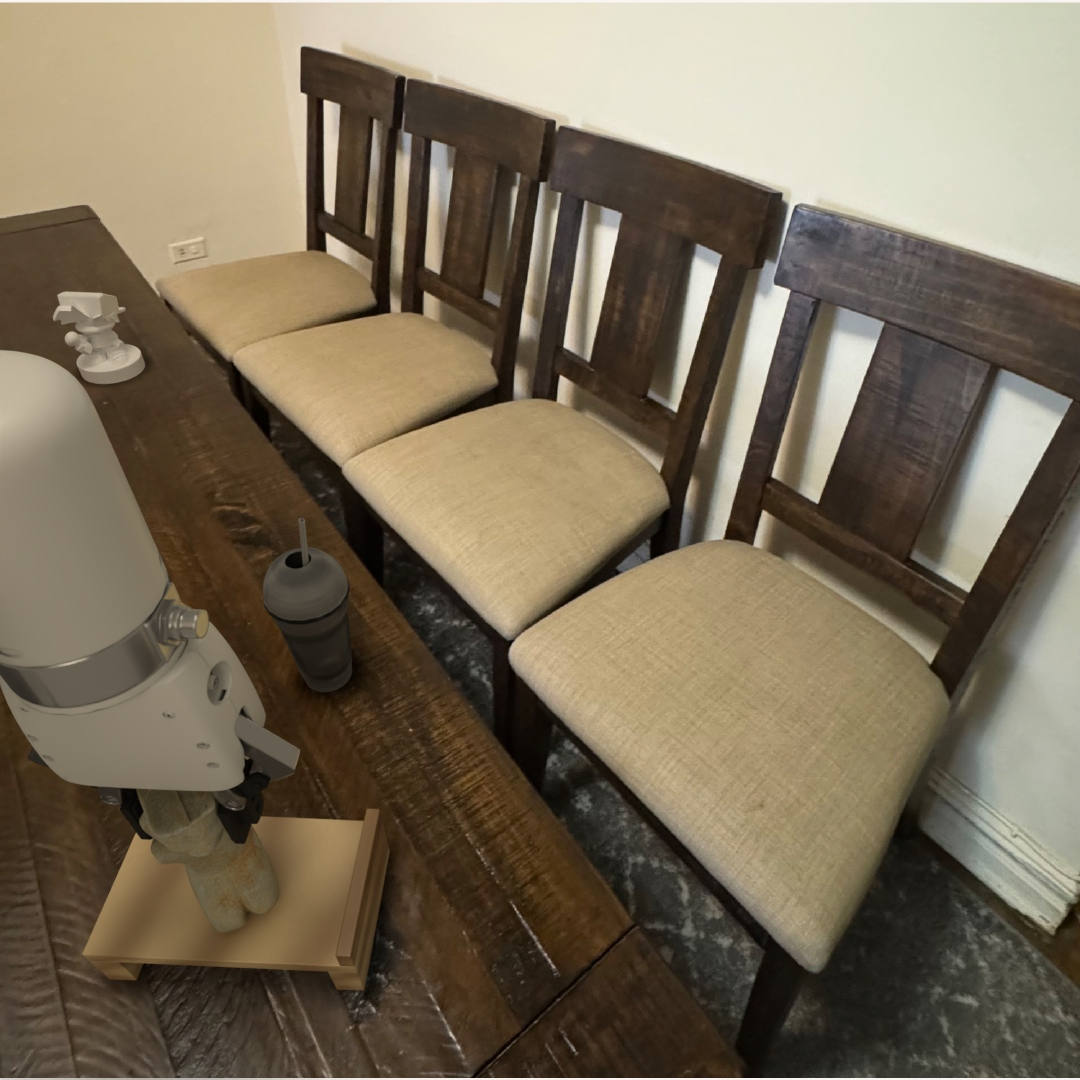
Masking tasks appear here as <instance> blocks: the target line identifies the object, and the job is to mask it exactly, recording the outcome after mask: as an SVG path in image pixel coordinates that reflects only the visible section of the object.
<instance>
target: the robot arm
mask: <svg viewBox="0 0 1080 1080" xmlns="http://www.w3.org/2000/svg"><path fill="white" fill-rule="evenodd" d="M0 689H1V691H2V694H3V696H4V699H5V701H6V704H7V706H8V708H9V710H10V712H11V714H12V716H13V718H14V719H15V721H16V723H17V725H18V726H19V728H20V730H21V732H22V733H23V735H25V737H26V739H27V740H28V742H29V744H30V745H31V746H32V748H31V750H30V751H29V753H28V755H27V759H28V760H29V761H30V762H32V763H35V764H37V765H41V766H43V767H47V768H50V770H52V771H53V773H55V774H56V775H57V776H58V777H60V778H61V779H62V780H64V781H65V782H68V783H72V784H76V785H82V786H88V787H90V788H93V789H96V790H97V795H98V799H99V801H100V802H102V803H103V804H105V805H106V804H107V805H110V806H120V808H119V811H120V812H121V814H122V816H123V817H124V819H126V820H127V822H128V824H129V825H131V828H132V829H133V830H134V831H135V834H136V833H137V834H138V836H139V837H140V838H141V839H144V840H151V839H153V837H151V836H150V835H148V834H147V833H146V832H145V831H144V830H143V829H142V827H141V825H140V823H139V820H140V817H141V815H142V814H143V812H144V811H143V808H142V805H141V803H140V800H139V797H138V794H137V790H136V789H156V790H181V791H208V792H209V793H210V794H211V795H212V796H213V797H214V798H215V799H216V800H217V801H218V802H219V803H220V805H219V807H218V811H217V815H218V817H219V819H220V820H221V822H222V824H223V826H224V828H225V829H226V831H227V833H228V835H229V837H230V838H231V840H232V841H234V843H235V844H245V842H246V840H247V837H248V834H249V831H250V828H251V825H252V824H257V823H258V822H259V820H260V818H261V816H262V814H263V810H264V807H265V805H264V804H265V802H264V801H265V800H264V797H263V795H262V792H263V791H265V790H266V789H268V787H269V784H270V783H271V782H273V781H274V782H278V781H280V780H284V779H285V778H288V777H291V776H292V775H294V774H296V771H297V768H298V763H299V760H300V757H301V754H302V751H301V749H300V748H298V747H297V746H295V745H293V744H292V743H290V742H289V741H287V740H285V739H284V738H282V737H280V736H278V735H277V734H275V733H273V732H272V731H270V730H269V729H267V728H265V727H264V726H265V723H266V718H267V715H266V712H265V711H266V710H265V707H264V706H263V703H262V701H261V699H260V697H259V694H258V691H257V689H256V688H255V686H254V684H253V682H252V680H251V678H250V676H249V674H248V673H247V671H246V669H245V667H244V666H243V664H242V662H241V661H240V659H239V658H238V656H237V654H236V653H235V651H234V650H233V648H232V647H231V646H230V643H228V641H227V640H226V639H225V637H224V636H223V635H222V634H221V633H220V631H219V630H218V629H217V627H216V626H214V624H213V623H212V622H211V621H210V616H209V613H208V611H207V610H206V609H200V608H199V609H197V608H192V607H191V606H190V605H187V604H185V603H183V601H182V599H181V597H180V594H179V592H178V590H177V587H176V585H175V583H174V582H173V580H172V578H171V576H170V574H169V571H168V569H167V567H166V564H165V563H164V560H163V559H162V556H161V553H160V551H159V549H158V546H157V544H156V542H155V540H154V537H153V536H152V534H151V531H150V529H149V526H148V524H147V522H146V520H145V517H144V515H143V513H142V511H141V508H140V505H139V504H138V501H137V498H136V497H135V494H134V492H133V490H132V488H131V485H130V484H129V480H128V479H127V477H126V475H125V472H124V470H123V467H122V465H121V463H120V461H119V458H118V457H117V454H116V452H115V449H114V447H113V445H112V443H111V441H110V438H109V436H108V434H107V431H106V429H105V427H104V425H103V423H102V420H101V418H100V416H99V414H98V411H97V408H96V407H95V405H94V403H93V401H92V399H91V397H90V396H89V394H88V392H87V389H85V387H84V386H83V385H82V384H81V382H80V381H79V380H78V379H77V377H75V376H74V375H73V374H72V373H71V372H70V371H69V370H68V369H66V368H64V367H63V366H62V365H59V364H58V363H56V362H54V361H52V360H50V359H48V358H46V357H43V356H40V355H36V354H33V353H28V352H22V351H17V350H7V349H6V350H5V349H0Z"/></svg>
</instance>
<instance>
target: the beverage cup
mask: <svg viewBox="0 0 1080 1080" xmlns="http://www.w3.org/2000/svg"><path fill="white" fill-rule="evenodd" d="M298 530H299V539H300V540H299V541H300V547H295V548H292V549H289V550H287V551H284V552H283V553H282V554H280V555H278V556H277V557H276V558H275V559H274V560H273V562H272V563H271V564H270V565H269V567H268V569H267V570H266V573H265V576H264V579H263V583H262V600H263V601H262V602H263V607H264V609H265V610H266V612H267V614H268V615H269V616H270V617H271V619H272V620H273V622H274V623H275V624H276V626H277V628H278V629H279V631H280V633H281V635H282V637H283V639H284V642H285V644H286V645H287V648H288V650H289V652H290V654H291V657H292V658H293V661H294V663H295V665H296V667H297V670H298V671H299V674H300V675H301V676H302V678H303V679H304V681H305V684H306V685H307V687H308V688H309V689H311V690H312V691H315V692H317V693H331V692H334V691H337V690H339V689H342V688H343V687H344V686H345V685H346V684H347V683H348V682H349V680H350V679H351V677H352V675H353V664H352V663H353V654H352V643H351V634H350V633H351V632H350V631H351V630H350V621H349V620H350V619H349V611H348V609H349V608H348V607H349V599H350V590H351V587H350V582H349V578H348V577H347V575H346V574H345V571H344V569H343V567H342V566H341V564H339V562H338V561H337V559H335V558H334V556H332V555H330V554H329V553H327V552H325V551H324V550H322V549H318V548H314V547H311V546H310V547H308V540H307V539H308V538H307V529H306V519H305V518H303V517H301V518H298Z"/></svg>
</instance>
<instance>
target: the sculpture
mask: <svg viewBox="0 0 1080 1080" xmlns="http://www.w3.org/2000/svg"><path fill="white" fill-rule="evenodd" d="M136 790H137V794H138V797H139V800H140V803H141V805H142V808H143V811H144V812H143V814H142V815H141V817H140V820H139V823H140V825H141V827H142V829H143V830H144V831H145V832H146V833H147V834H148V835H150V836H151V837H153V841H152V844H151V847H150V848H151V853H152V854H153V856H154V857H155V858H156V859H157V860H158V861H159V862H160V863H161V864H171V863H181V864H184V866H185V870H186V873H187V876H188V879H189V882H190V885H191V887H192V889H193V892H194V894H195V896H196V898H197V900H198V902H199V904H200V906H201V908H202V910H203V912H204V914H205V915H206V917H207V918H208V920H209V922H210V923H211V925H212V926H213V928H214V929H215V930H216V931H218V932H221V933H227V932H230V931H233V930H236V929H239V928H241V927H242V926H243V925H245V923H246V916H247V913H248V912H253V913H256V914H265V913H267V912H268V911H269V910H270V909H272V908H273V906H274V905H275V904H276V902H277V901H278V897H279V886H278V882H277V879H276V875H275V873H274V870H273V868H272V865H271V863H270V860H269V858H268V855H267V853H266V851H265V849H264V847H263V845H262V843H261V840H260V839H259V837H258V835H257V833H256V831H255V829H254V827H253V826H252V825H251V828H250V831H249V834H248V837H247V840H246V842H245V844H235V843H234V841H232V840H231V838H230V837H229V835H228V833H227V831H226V829H225V828H224V826H223V824H222V822H221V820H220V819H219V817H218V815H217V811H218V807H219V805H220V803H219V802H218V801H217V800H216V799H215V798H214V797H213V796H212V795H211V794H210V793H209V792H208V791H181V790H156V789H136Z"/></svg>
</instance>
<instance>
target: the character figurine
mask: <svg viewBox="0 0 1080 1080" xmlns="http://www.w3.org/2000/svg"><path fill="white" fill-rule="evenodd" d="M56 296H57V297H56V298H57V301H58V303H59V305H58V306H57V307H56V308H55V311H54V312H53V315H52V319H53V322H57V321H60V324H61V325H62V326H63V325H67V324H72V323H75V325H74V329H75V330H76V331H78V332H79V333H77V332H76V331H69V332H67V333H66V334H65V336H64V342H65V344H66V345H67V346H68V347H74V350H76V351H77V352H79V353H80V355H79V356H78V357H77V359H76V366H77V369H78V371H79V373H80V375H81V377H82V378H83V380H84V381H86V382H88V383H91V384H97V385H110V384H118V383H121V382H126V381H129V380H131V379H133V378H135V377H138V375H140V374H141V373H142V372H144V370H145V368H146V361H145V359H144V356H143V355H142V351H141V349H139V347H137V346H135V345H132V344H130V343H129V344H128V343H125V342H124V341H123V340H121V339H119V335H118V334H117V333H116V331H114V330H113V328H114V327H115V326H116V323H120V319H119V316H118V315H119V314H122V313H124V312H126V307H124V306H119V302H118V298H117V296H116V295H113V294H107V293H103V292H87V291H85V292H84V291H62V292H61V293H58V294H57V295H56ZM80 333H81V334H80Z"/></svg>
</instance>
